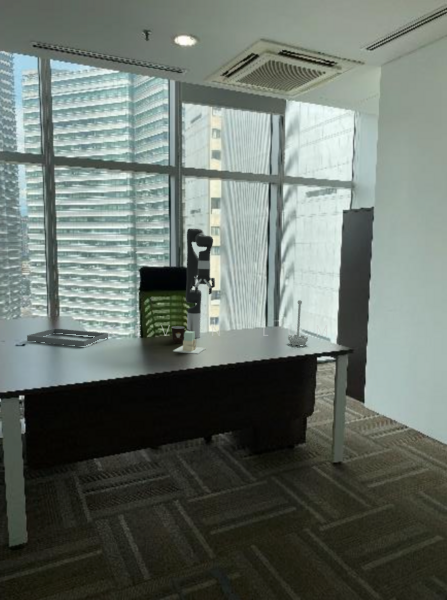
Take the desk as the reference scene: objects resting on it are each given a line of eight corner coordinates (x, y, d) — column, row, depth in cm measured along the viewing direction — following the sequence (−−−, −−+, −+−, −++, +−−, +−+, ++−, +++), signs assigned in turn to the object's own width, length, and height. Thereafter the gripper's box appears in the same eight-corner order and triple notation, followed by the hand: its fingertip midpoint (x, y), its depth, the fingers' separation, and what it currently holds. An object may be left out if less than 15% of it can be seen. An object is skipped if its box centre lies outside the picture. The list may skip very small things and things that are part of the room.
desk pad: (182, 346, 283) (182, 345, 283) (205, 349, 279) (205, 348, 279) (173, 351, 270) (173, 350, 270) (198, 354, 266) (198, 353, 265)
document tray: (54, 333, 310) (54, 328, 310) (108, 339, 298) (108, 333, 298) (27, 341, 284) (27, 335, 284) (84, 347, 272) (84, 341, 272)
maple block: (186, 348, 277) (186, 338, 276) (195, 349, 275) (195, 339, 275) (182, 350, 271) (183, 340, 271) (192, 351, 270) (192, 341, 269)
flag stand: (305, 347, 293) (308, 301, 289) (286, 345, 297) (288, 300, 293) (308, 343, 305) (311, 299, 301) (289, 341, 309) (291, 298, 306)
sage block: (187, 338, 276) (187, 330, 275) (194, 339, 274) (195, 331, 274) (184, 340, 271) (184, 332, 270) (191, 341, 270) (192, 333, 269)
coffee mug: (169, 342, 293) (169, 327, 292) (174, 340, 301) (174, 325, 300) (185, 344, 290) (185, 329, 289) (190, 341, 298) (190, 327, 297)
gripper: (216, 268, 279) (215, 294, 281) (195, 267, 283) (194, 292, 285) (212, 268, 272) (212, 295, 274) (191, 267, 276) (190, 293, 278)
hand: (203, 293), depth 280 cm, fingers open, 8 cm apart
